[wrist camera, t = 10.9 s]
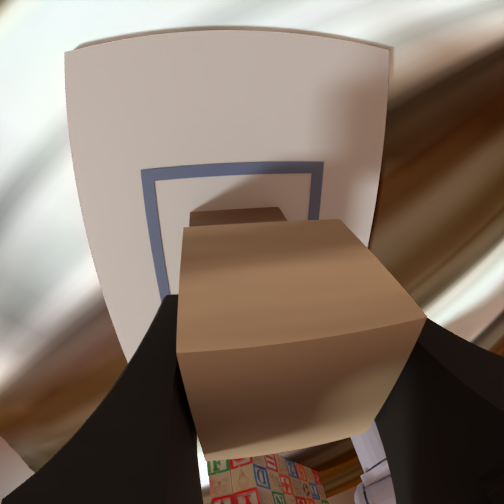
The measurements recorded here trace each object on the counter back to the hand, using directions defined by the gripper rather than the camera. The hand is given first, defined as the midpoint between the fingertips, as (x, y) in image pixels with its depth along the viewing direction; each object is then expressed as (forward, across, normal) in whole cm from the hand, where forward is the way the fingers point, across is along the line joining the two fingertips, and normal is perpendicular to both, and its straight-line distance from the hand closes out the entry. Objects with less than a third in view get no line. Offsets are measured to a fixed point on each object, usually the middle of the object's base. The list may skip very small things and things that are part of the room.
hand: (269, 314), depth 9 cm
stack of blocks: (+9, -4, +37) cm, 39 cm away
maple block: (+1, 0, 0) cm, 1 cm away
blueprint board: (+8, 0, +2) cm, 9 cm away
